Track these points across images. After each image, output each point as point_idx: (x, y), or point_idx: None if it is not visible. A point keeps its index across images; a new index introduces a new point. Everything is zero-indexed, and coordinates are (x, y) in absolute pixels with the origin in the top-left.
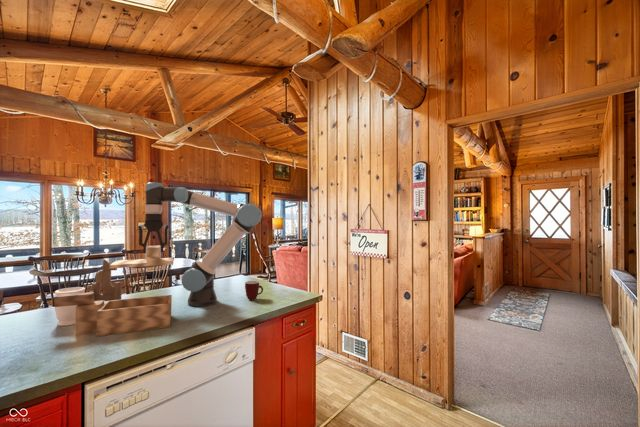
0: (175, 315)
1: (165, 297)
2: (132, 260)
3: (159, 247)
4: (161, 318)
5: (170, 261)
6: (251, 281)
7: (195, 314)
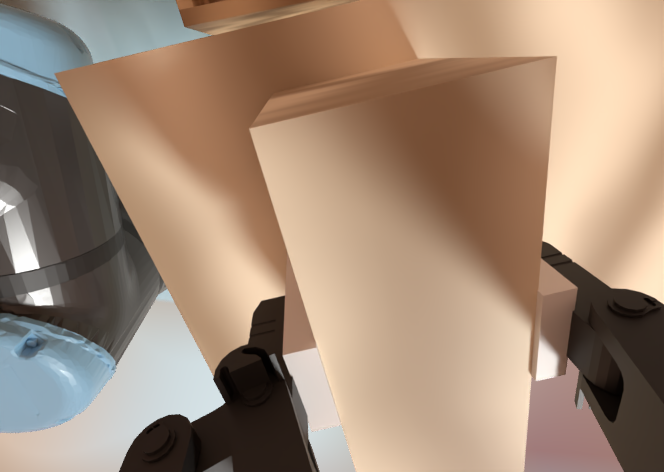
0: (194, 34)
1: (218, 4)
2: (584, 268)
3: (305, 330)
4: None
5: (99, 82)
6: None
7: (89, 26)
